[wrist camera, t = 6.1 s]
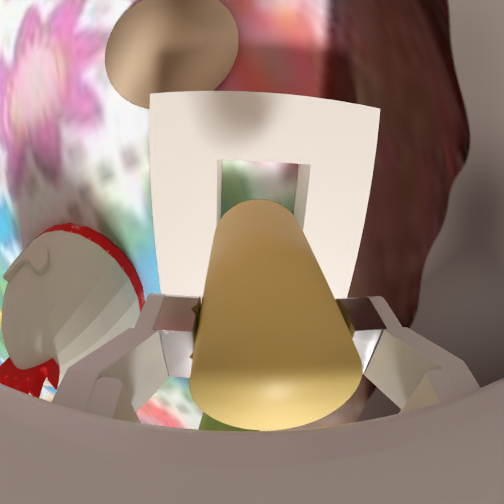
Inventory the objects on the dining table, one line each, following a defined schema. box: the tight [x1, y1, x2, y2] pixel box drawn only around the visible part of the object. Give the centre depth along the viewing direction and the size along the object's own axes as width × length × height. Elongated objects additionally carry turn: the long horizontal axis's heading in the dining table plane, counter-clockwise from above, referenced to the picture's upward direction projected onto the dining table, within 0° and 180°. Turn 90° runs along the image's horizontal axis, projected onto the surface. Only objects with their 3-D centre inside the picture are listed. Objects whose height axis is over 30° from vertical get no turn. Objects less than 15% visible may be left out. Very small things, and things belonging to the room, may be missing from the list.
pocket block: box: [149, 91, 380, 299], centre depth 20 cm, size 14×14×4 cm
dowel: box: [189, 199, 362, 430], centre depth 10 cm, size 4×4×8 cm
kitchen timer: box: [0, 223, 145, 398], centre depth 19 cm, size 14×14×15 cm
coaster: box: [105, 0, 239, 109], centre depth 16 cm, size 10×10×1 cm
